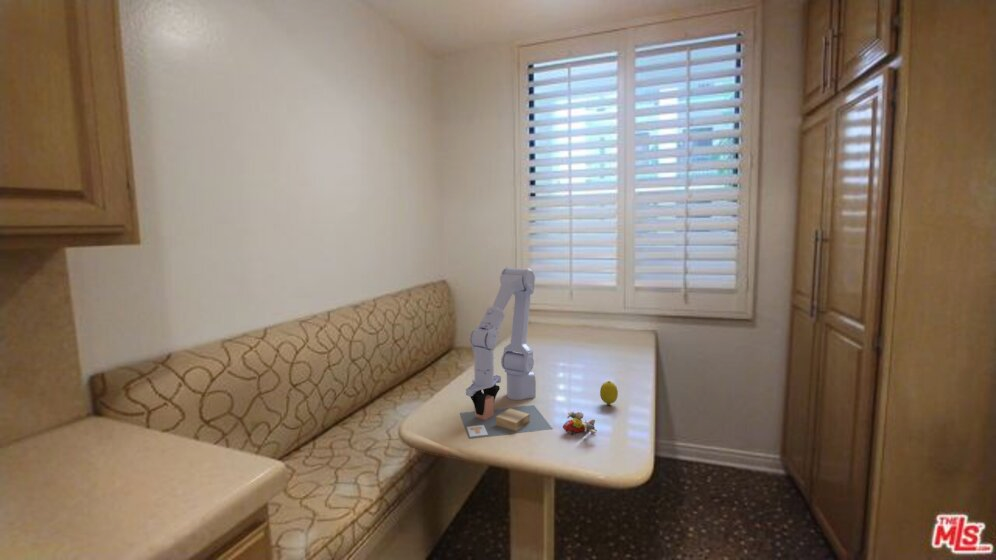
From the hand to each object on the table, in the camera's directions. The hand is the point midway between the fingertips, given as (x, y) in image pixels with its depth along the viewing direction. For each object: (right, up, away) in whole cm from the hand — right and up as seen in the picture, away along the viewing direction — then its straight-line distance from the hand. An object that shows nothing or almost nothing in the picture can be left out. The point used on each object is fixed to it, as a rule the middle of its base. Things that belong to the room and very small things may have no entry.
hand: (484, 411), depth 132 cm
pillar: (0, -1, 0) cm, 1 cm away
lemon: (+40, -1, +10) cm, 41 cm away
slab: (+8, -2, -5) cm, 10 cm away
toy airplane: (+27, -4, -9) cm, 29 cm away
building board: (+6, -3, -3) cm, 7 cm away
